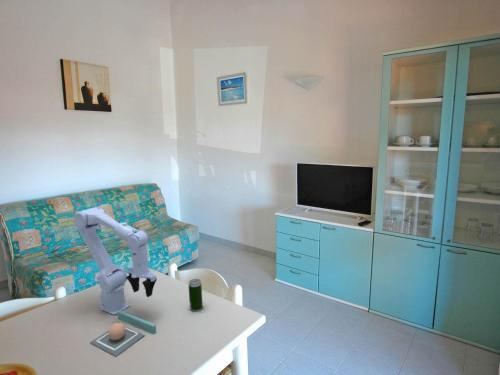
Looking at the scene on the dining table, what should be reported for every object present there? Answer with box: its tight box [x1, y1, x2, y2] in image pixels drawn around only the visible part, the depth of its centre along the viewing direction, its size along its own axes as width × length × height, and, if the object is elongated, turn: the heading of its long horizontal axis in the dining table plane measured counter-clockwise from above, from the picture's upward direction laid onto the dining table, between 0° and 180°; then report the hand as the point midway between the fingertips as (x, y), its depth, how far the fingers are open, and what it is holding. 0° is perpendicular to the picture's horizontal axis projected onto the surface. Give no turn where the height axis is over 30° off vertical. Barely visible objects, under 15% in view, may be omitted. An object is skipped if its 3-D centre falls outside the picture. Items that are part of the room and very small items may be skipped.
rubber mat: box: [89, 326, 146, 358], centre depth 110 cm, size 14×12×1 cm
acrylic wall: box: [116, 310, 157, 335], centre depth 118 cm, size 20×1×3 cm, turn 60°
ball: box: [107, 322, 126, 340], centre depth 109 cm, size 6×6×6 cm
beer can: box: [188, 278, 203, 312], centre depth 127 cm, size 5×5×12 cm
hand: (142, 293), depth 123 cm, fingers open, 7 cm apart
